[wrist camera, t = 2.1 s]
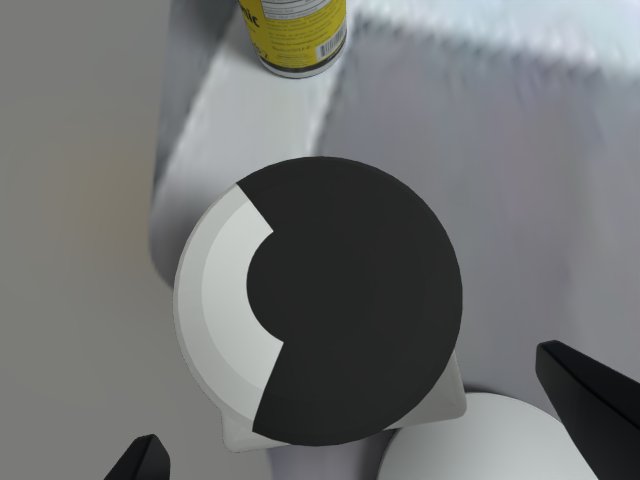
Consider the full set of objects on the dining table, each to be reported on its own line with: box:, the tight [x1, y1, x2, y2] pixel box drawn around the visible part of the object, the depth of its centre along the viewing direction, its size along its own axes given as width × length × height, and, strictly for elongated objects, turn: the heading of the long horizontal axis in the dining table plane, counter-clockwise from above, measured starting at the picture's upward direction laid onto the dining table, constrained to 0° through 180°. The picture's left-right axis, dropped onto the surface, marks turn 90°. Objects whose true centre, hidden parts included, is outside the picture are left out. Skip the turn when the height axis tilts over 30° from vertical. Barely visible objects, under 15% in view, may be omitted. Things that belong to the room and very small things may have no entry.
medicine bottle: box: [173, 156, 467, 453], centre depth 14 cm, size 7×7×12 cm
